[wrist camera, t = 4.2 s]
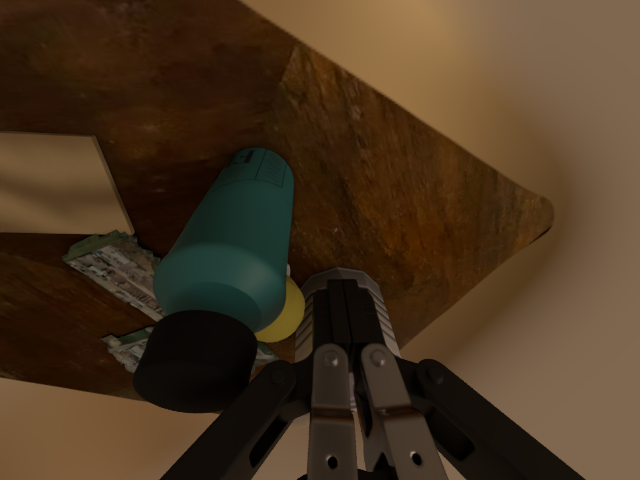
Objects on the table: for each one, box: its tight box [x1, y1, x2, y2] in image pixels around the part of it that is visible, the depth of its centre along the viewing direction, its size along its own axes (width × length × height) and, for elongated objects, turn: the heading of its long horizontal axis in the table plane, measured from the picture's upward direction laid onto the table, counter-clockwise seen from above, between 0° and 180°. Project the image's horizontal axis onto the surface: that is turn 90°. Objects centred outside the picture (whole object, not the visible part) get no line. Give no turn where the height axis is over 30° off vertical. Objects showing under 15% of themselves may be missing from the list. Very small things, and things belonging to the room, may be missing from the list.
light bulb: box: [255, 264, 305, 342], centre depth 28 cm, size 7×7×10 cm
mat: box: [0, 131, 135, 235], centre depth 25 cm, size 10×14×1 cm
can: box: [295, 267, 401, 412], centre depth 31 cm, size 11×11×12 cm
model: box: [61, 230, 278, 375], centre depth 37 cm, size 21×30×2 cm
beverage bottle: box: [133, 147, 296, 413], centre depth 17 cm, size 6×7×20 cm
